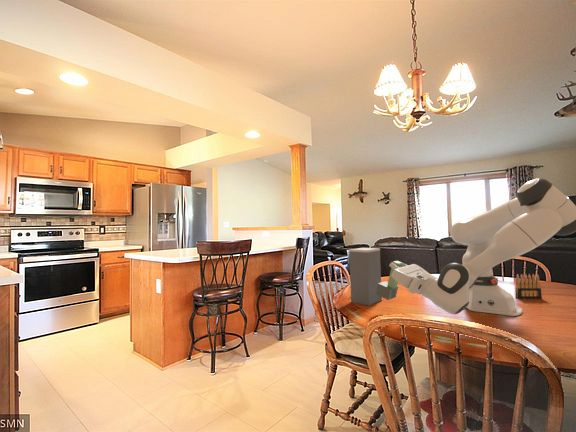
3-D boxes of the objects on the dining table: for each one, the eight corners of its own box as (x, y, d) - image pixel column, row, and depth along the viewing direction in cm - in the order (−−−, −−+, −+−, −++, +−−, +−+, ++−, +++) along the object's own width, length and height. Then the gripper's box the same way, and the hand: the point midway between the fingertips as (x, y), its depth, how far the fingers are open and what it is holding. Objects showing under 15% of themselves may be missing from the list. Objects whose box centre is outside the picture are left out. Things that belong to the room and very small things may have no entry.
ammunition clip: (539, 298, 144) (538, 273, 144) (542, 299, 142) (540, 274, 143) (515, 297, 146) (514, 273, 146) (517, 298, 144) (516, 274, 144)
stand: (381, 300, 147) (379, 248, 148) (369, 305, 138) (367, 250, 139) (364, 297, 154) (362, 247, 155) (351, 302, 146) (349, 249, 146)
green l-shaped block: (404, 262, 126) (391, 257, 130) (396, 264, 121) (383, 259, 125) (395, 297, 128) (383, 291, 132) (388, 300, 123) (375, 294, 127)
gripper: (436, 272, 123) (407, 254, 132) (416, 280, 109) (385, 259, 117) (429, 284, 125) (401, 266, 134) (408, 293, 111) (378, 272, 119)
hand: (393, 263), depth 125 cm, fingers closed on green l-shaped block, 4 cm apart
